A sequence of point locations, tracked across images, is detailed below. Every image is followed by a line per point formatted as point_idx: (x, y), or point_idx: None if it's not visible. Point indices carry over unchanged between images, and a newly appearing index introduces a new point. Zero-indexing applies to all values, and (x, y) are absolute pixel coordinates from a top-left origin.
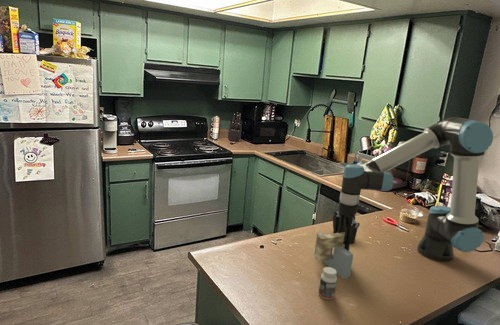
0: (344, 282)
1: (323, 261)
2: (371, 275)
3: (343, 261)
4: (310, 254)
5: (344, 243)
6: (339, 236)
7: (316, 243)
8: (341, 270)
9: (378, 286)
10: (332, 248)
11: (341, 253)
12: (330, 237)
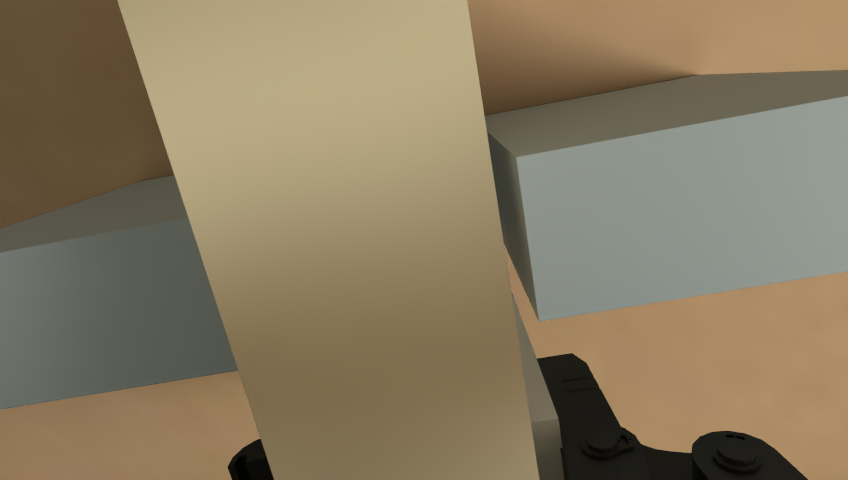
0: (69, 156)
1: (501, 113)
2: (205, 477)
3: (44, 220)
4: (712, 18)
5: (246, 459)
6: (272, 471)
7: (791, 74)
8: (149, 185)
9: (28, 441)
10: (510, 255)
11: (40, 238)
12: (170, 78)
